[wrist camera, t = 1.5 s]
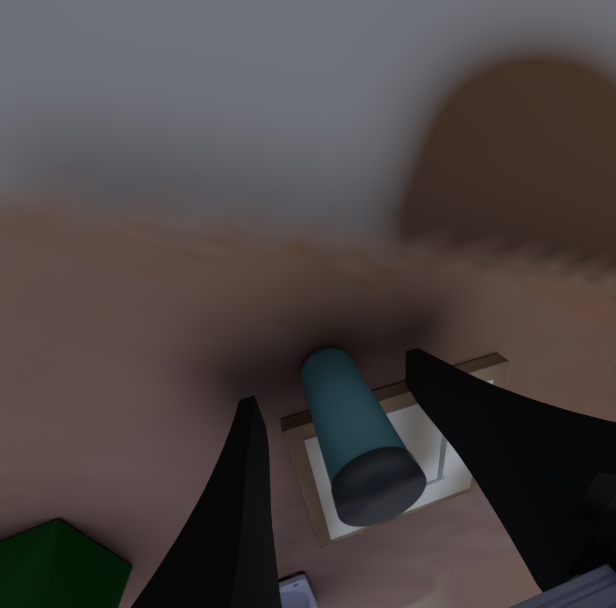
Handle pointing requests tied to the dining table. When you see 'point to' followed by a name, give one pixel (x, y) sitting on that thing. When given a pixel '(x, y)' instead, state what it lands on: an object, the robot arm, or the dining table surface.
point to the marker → (358, 442)
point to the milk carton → (59, 570)
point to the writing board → (415, 435)
